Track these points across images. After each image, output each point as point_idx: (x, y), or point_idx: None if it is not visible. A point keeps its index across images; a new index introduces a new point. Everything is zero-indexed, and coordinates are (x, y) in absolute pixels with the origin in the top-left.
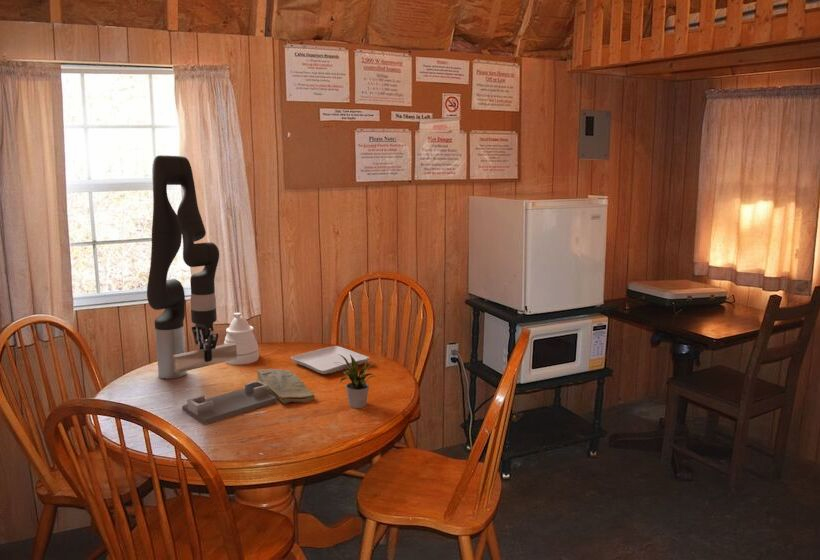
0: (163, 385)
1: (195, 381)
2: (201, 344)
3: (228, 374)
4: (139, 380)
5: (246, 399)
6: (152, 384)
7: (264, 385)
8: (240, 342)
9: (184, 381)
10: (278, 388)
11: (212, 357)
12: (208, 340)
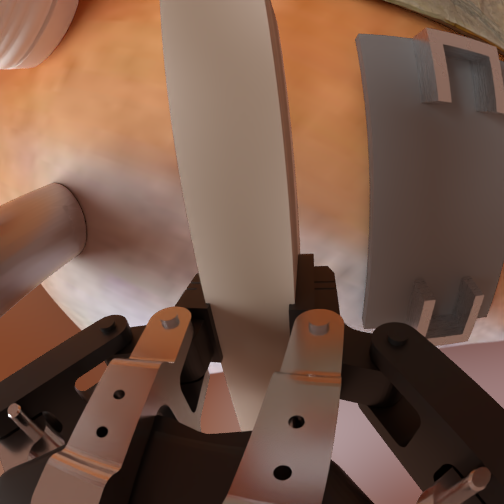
0: (123, 273)
1: (128, 182)
2: (194, 377)
3: (122, 60)
4: (77, 296)
5: (476, 141)
6: (108, 289)
7: (493, 59)
8: (13, 9)
9: (114, 212)
10: (458, 4)
11: (296, 246)
12: (423, 480)
